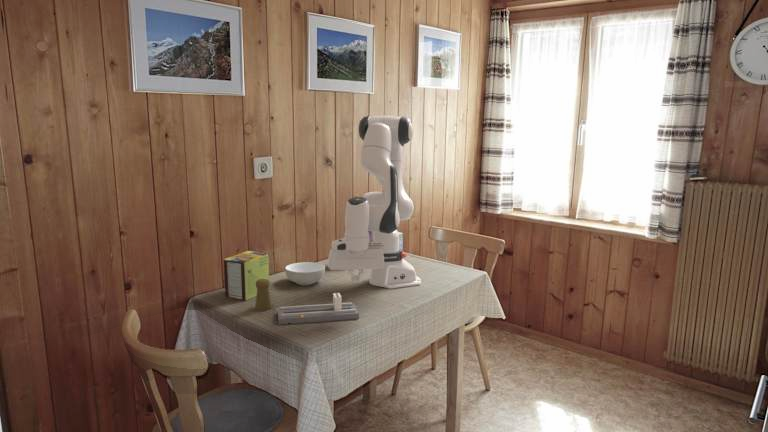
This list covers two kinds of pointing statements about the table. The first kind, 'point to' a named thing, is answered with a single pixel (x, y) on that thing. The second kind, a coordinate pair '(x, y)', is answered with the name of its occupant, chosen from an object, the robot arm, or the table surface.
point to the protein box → (245, 274)
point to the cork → (263, 295)
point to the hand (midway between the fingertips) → (355, 280)
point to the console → (316, 313)
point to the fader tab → (337, 301)
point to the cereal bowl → (305, 272)
